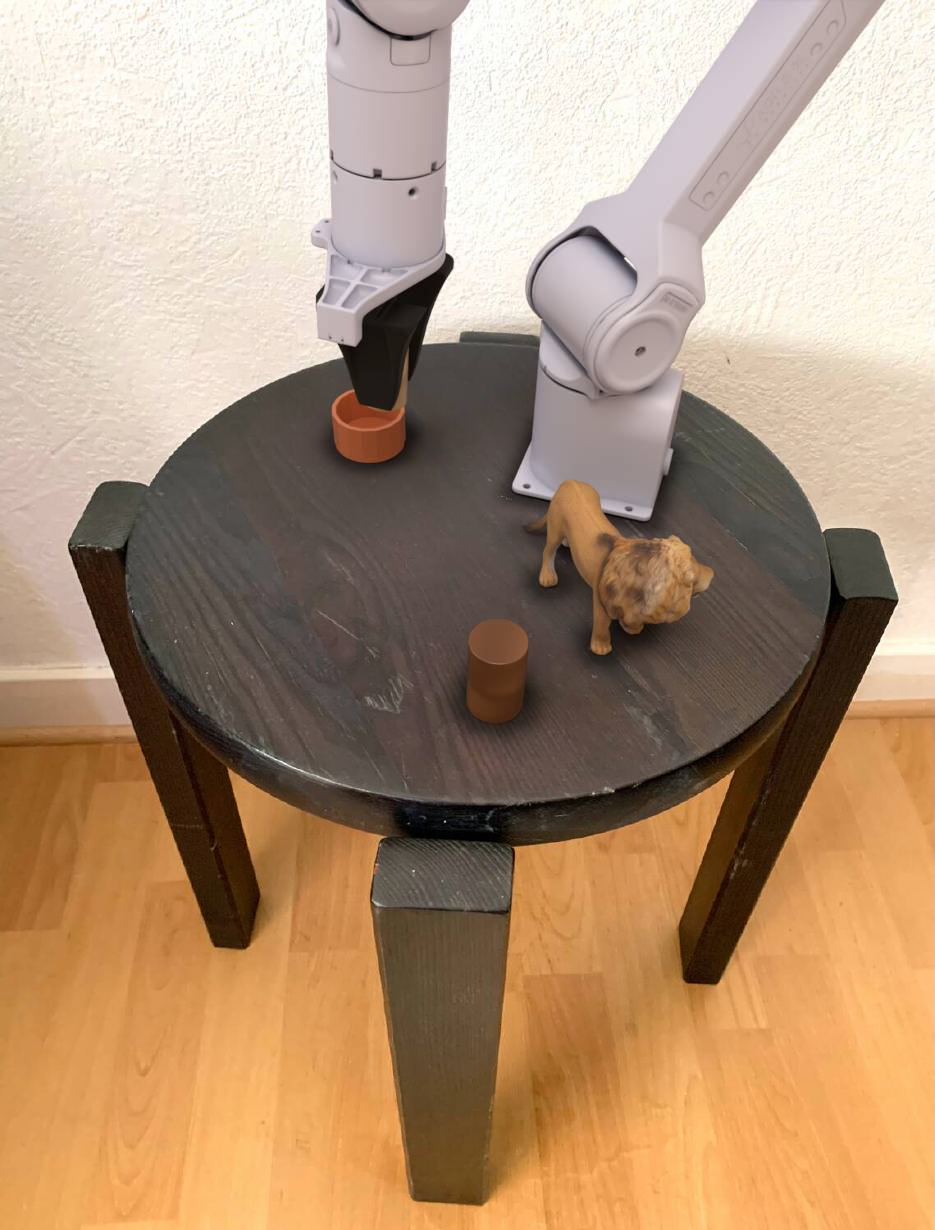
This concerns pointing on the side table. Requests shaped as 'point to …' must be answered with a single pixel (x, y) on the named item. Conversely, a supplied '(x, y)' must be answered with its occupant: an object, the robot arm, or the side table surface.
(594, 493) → the lion figurine
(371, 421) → the terracotta crock
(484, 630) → the brown cylinder
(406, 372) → the pepper mill
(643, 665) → the side table surface
